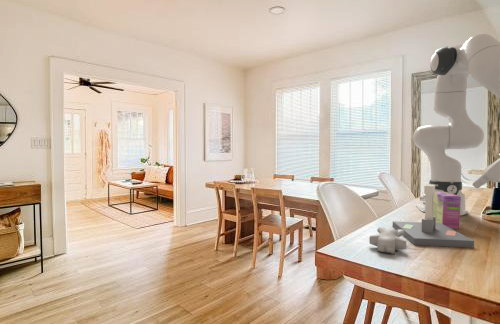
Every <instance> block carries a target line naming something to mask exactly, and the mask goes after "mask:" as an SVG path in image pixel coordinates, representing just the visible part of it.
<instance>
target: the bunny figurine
mask: <svg viewBox="0 0 500 324" xmlns="http://www.w3.org/2000/svg"><path fill="white" fill-rule="evenodd" d="M376 231H377V232H378V233H377V234H373V235H369V244H370V245H372V246H376V247H377V251H378V252H381V253H386V254H391V255H394V254H396V251H403V250H407V240H405V239H403V238H401V237H404V236H403V235H405V232H404V230H401V229H399V230H396V229H394V228H393V229H392V228H386V227H383V226H378V228H377V230H376Z"/></svg>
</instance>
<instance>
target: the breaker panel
mask: <svg viewBox="0 0 500 324" xmlns="http://www.w3.org/2000/svg"><path fill="white" fill-rule="evenodd" d="M433 220H434V221H435V225H434V227H433ZM433 220H429V219H425V218H421V222H420V221H419V222H418V221H392V228H393V229H394V230H399V229H401V230H404V232H405V235H403V236H402V237H404V238H405V239H407V240H408V241H409V242H410V243H411V244H413V245H414V246H427V247H429V246H432V247H433V246H434V247H448V248H449V247H452V248H453V247H454V248H469V249H470V248H472V249H473V248H475V240H473V239H472V238H470V237H467V236H466V235H464V234H462V233H460V232H458V231H456V229H455V230H454V229H451V228H449V227H447V226H445V225H443V224H441V223H436V217H435V216H433Z"/></svg>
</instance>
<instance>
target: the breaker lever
mask: <svg viewBox="0 0 500 324" xmlns="http://www.w3.org/2000/svg"><path fill="white" fill-rule="evenodd" d="M423 186H424V189H423V194H426V202H425V212H424V213H425V214H424V219H429V220H433V194H434V193H435V185H430V184H429V183H428V184H424V185H423ZM434 225H435V221H434V220H433V227H434Z"/></svg>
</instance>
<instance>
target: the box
mask: <svg viewBox="0 0 500 324" xmlns="http://www.w3.org/2000/svg"><path fill="white" fill-rule="evenodd" d="M460 204H461V197H460V196H457V195H454V194H451V193H448V192H436V191H435V193H434V194H433V216H435V217H436V223H441V224H443V225H445V226H447V227H449V228H451V229H453V230H454V229H455V230H457V229H458V230H460V220H461V219H460V217H461V215H460Z"/></svg>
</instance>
